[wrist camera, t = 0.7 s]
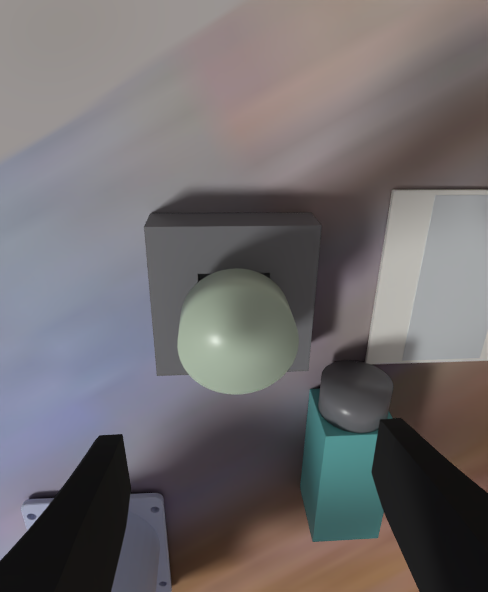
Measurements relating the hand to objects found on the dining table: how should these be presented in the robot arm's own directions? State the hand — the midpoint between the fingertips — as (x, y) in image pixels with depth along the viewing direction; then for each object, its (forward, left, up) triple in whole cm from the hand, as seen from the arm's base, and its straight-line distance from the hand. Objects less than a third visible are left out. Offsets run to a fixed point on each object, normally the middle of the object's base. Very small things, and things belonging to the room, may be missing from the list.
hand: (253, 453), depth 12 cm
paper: (+1, -11, -10) cm, 15 cm away
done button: (+1, 0, -8) cm, 8 cm away
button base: (+1, 0, -10) cm, 10 cm away
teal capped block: (-8, -6, -10) cm, 14 cm away
